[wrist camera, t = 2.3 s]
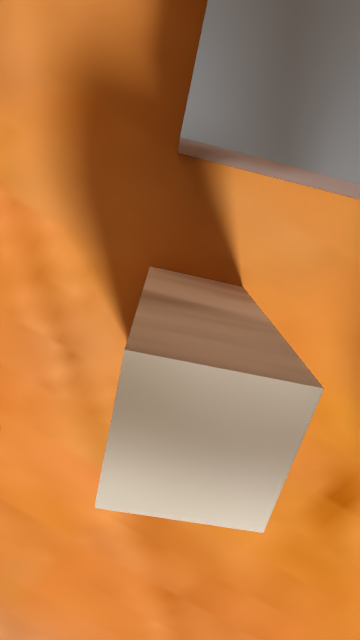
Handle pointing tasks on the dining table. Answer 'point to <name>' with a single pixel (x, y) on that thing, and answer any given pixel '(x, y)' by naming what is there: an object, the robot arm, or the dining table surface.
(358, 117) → the socket block
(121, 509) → the birch peg
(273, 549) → the dining table surface
